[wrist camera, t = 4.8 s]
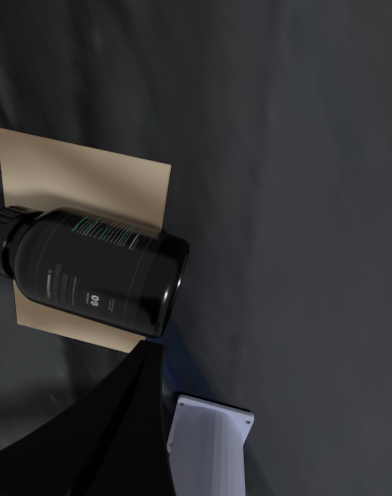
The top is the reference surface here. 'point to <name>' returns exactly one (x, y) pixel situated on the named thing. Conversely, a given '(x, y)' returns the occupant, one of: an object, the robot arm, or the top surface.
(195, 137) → the top surface
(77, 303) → the supplement bottle
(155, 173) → the tan paper sheet
